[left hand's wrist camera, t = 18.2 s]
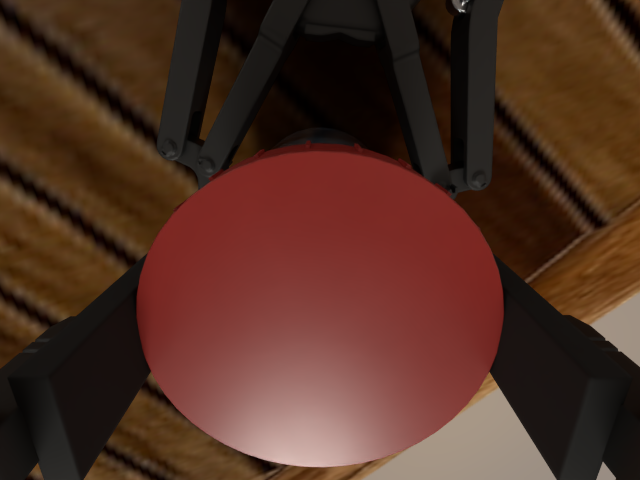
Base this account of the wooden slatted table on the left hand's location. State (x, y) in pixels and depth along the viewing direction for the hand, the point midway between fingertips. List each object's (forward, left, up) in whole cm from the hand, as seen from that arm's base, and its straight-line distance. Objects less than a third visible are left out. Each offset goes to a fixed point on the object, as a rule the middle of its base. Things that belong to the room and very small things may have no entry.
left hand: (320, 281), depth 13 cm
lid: (0, 0, +3) cm, 3 cm away
